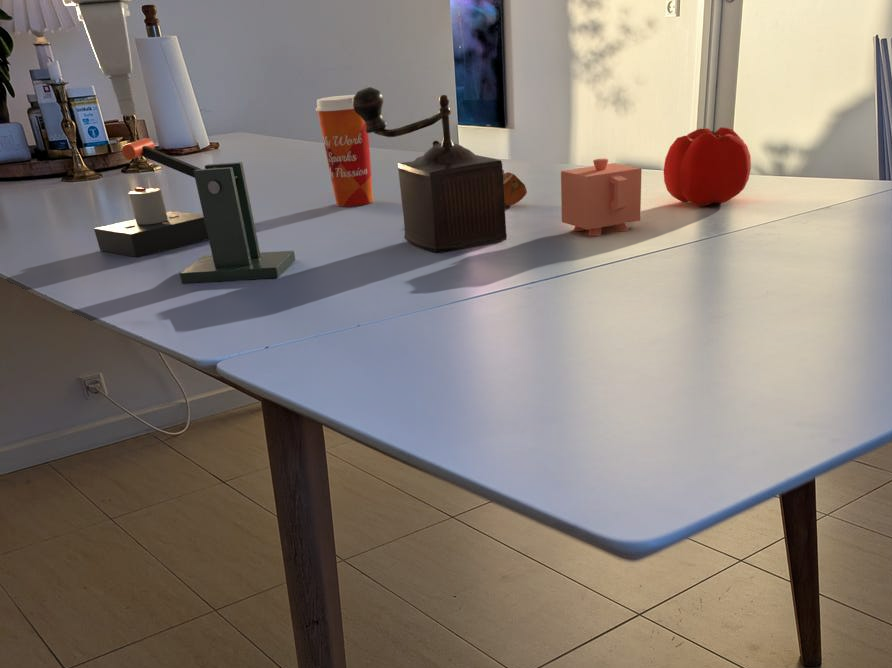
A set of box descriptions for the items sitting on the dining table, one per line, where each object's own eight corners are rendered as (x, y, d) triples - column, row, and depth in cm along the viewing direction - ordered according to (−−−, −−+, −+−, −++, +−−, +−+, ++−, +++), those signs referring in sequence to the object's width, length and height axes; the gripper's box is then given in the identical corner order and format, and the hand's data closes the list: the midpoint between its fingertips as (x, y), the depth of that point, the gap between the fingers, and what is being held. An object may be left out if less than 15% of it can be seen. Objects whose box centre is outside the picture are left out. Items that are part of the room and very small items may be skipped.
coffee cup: (321, 208, 147) (305, 101, 139) (341, 198, 154) (326, 96, 145) (370, 207, 145) (356, 98, 137) (387, 197, 152) (375, 93, 143)
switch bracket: (181, 283, 111) (155, 175, 104) (205, 265, 118) (182, 164, 111) (277, 277, 110) (257, 168, 103) (295, 260, 117) (277, 157, 110)
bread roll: (535, 207, 135) (534, 170, 132) (492, 213, 133) (490, 176, 131) (515, 199, 142) (513, 163, 139) (474, 205, 140) (471, 169, 137)
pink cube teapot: (601, 218, 125) (601, 150, 121) (648, 231, 116) (651, 159, 111) (550, 226, 123) (548, 158, 118) (594, 241, 114) (594, 167, 109)
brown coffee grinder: (470, 227, 126) (459, 75, 116) (509, 240, 118) (500, 77, 108) (366, 246, 121) (345, 88, 111) (398, 260, 113) (378, 91, 102)
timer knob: (174, 219, 131) (165, 186, 128) (147, 225, 128) (138, 192, 126) (157, 217, 133) (149, 185, 131) (130, 223, 131) (121, 190, 128)
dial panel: (136, 257, 126) (130, 232, 124) (100, 250, 132) (93, 227, 130) (215, 237, 133) (210, 214, 132) (177, 232, 139) (172, 209, 137)
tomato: (673, 195, 135) (676, 125, 130) (756, 195, 130) (762, 123, 125) (652, 209, 127) (654, 136, 122) (738, 210, 123) (745, 134, 118)
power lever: (120, 160, 105) (123, 138, 104) (140, 153, 110) (143, 131, 108) (223, 202, 107) (227, 181, 105) (238, 193, 112) (242, 173, 110)
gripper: (74, -9, 122) (105, 110, 130) (66, -16, 106) (103, 121, 114) (123, -13, 123) (151, 105, 131) (122, -20, 107) (155, 115, 115)
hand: (129, 113), depth 122 cm, fingers open, 8 cm apart
